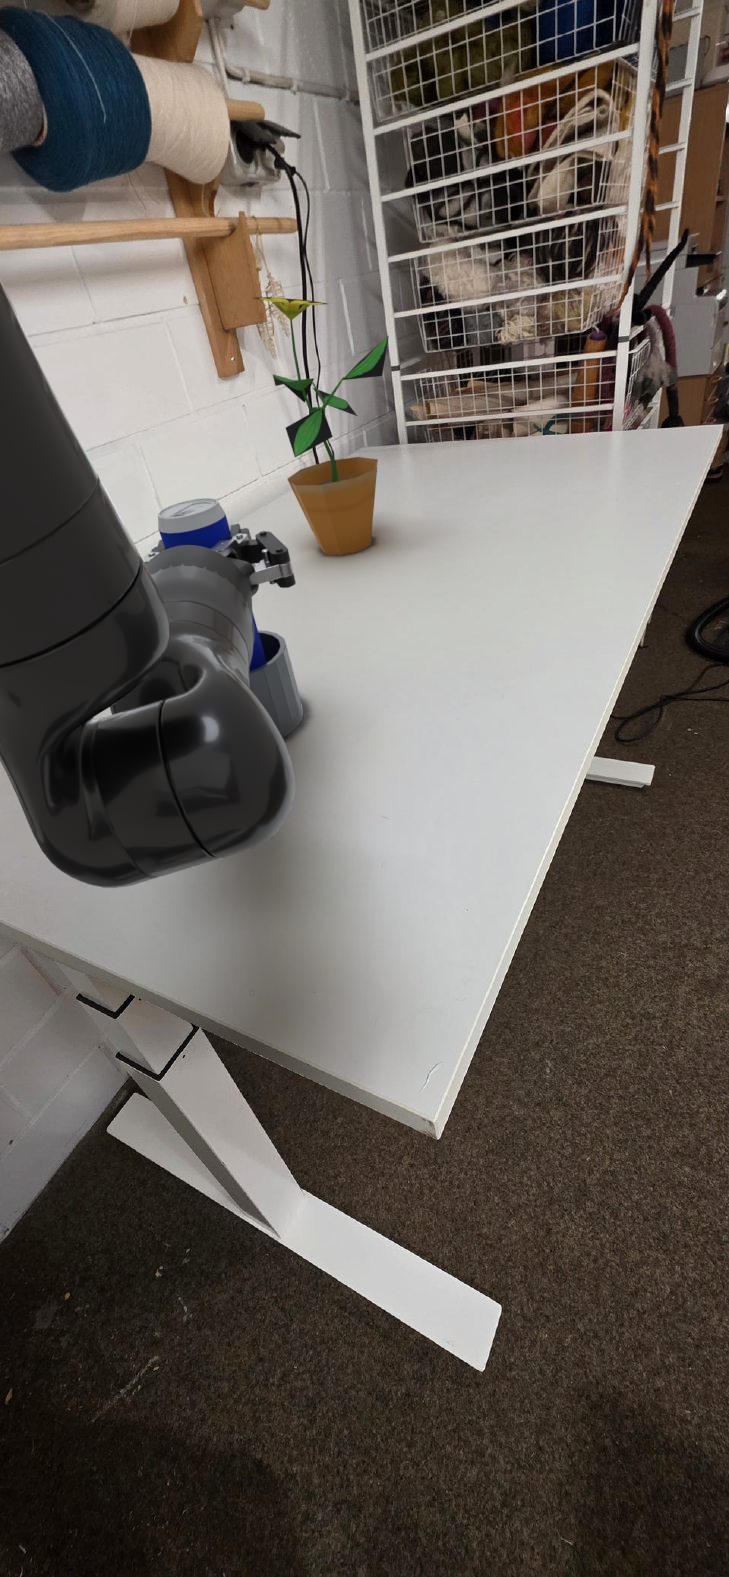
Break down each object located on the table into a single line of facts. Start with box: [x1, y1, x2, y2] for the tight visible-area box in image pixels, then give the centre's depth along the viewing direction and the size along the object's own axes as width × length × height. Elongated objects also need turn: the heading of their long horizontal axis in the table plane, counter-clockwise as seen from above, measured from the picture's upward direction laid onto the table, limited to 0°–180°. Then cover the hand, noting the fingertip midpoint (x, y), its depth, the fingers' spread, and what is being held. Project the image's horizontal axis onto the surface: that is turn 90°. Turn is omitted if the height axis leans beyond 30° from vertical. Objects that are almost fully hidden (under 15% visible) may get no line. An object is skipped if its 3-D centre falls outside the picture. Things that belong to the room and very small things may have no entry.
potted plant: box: [253, 296, 390, 556], centre depth 87 cm, size 18×19×30 cm
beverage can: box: [157, 497, 267, 672], centre depth 55 cm, size 5×5×15 cm
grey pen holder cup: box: [249, 629, 304, 739], centre depth 60 cm, size 9×9×7 cm
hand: (203, 544), depth 55 cm, fingers closed on beverage can, 5 cm apart
